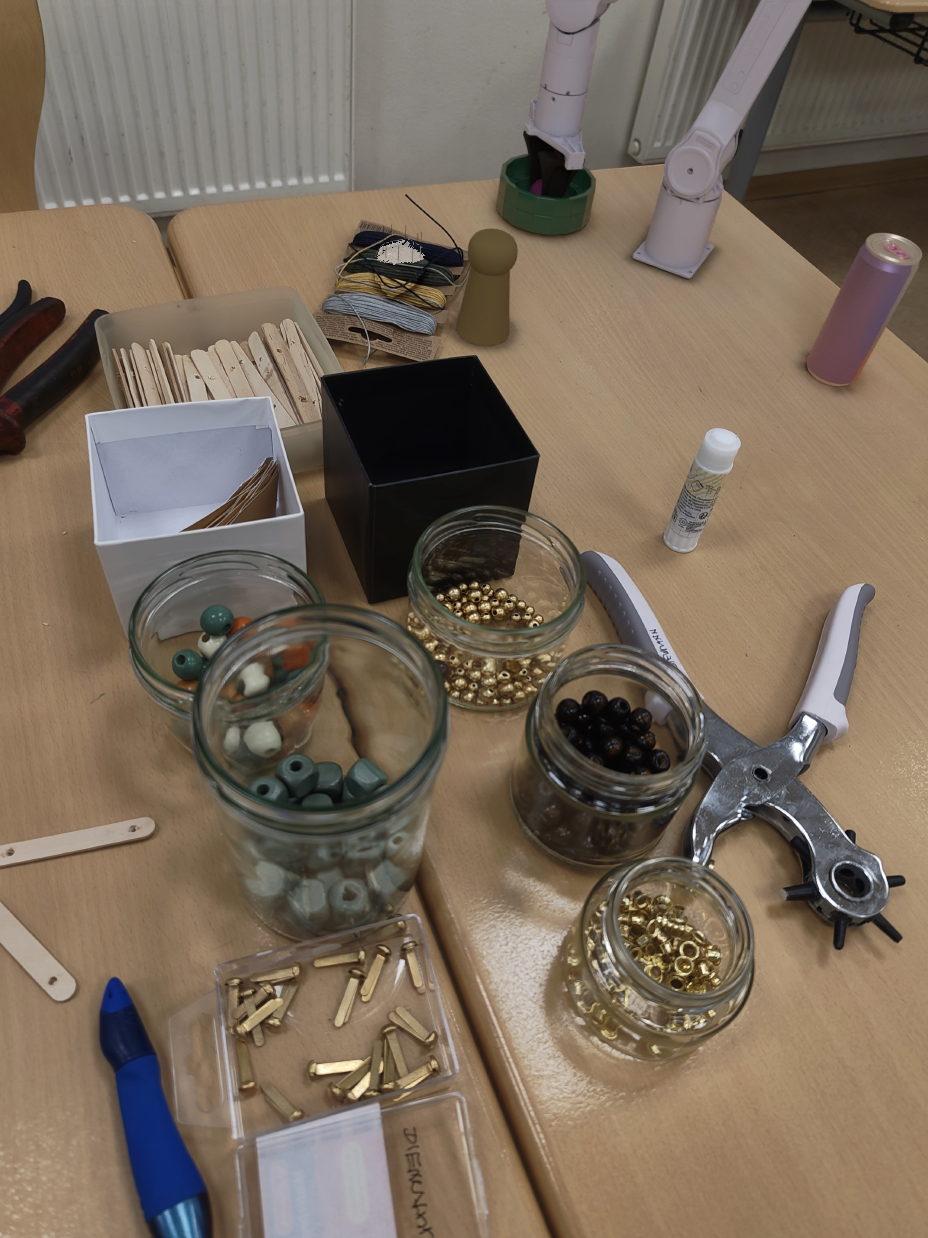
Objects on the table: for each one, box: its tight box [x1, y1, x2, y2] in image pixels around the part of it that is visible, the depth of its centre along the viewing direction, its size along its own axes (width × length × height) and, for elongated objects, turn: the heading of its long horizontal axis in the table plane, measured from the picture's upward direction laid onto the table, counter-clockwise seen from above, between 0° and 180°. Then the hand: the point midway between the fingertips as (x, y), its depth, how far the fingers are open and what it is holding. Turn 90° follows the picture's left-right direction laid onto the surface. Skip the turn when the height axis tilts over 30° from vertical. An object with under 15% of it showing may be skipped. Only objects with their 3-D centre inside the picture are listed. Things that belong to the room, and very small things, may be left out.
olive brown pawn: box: [455, 227, 519, 347], centre depth 92 cm, size 6×6×11 cm
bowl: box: [495, 153, 597, 236], centre depth 112 cm, size 12×12×5 cm
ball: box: [529, 179, 542, 196], centre depth 112 cm, size 4×4×4 cm
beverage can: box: [806, 232, 923, 387], centre depth 92 cm, size 6×6×15 cm
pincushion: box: [377, 224, 425, 265], centre depth 100 cm, size 12×6×6 cm, turn 172°
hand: (544, 199), depth 113 cm, fingers closed on ball, 4 cm apart
